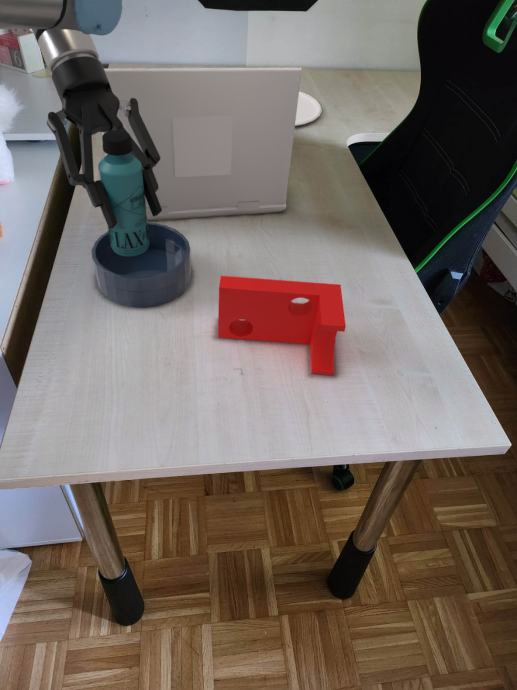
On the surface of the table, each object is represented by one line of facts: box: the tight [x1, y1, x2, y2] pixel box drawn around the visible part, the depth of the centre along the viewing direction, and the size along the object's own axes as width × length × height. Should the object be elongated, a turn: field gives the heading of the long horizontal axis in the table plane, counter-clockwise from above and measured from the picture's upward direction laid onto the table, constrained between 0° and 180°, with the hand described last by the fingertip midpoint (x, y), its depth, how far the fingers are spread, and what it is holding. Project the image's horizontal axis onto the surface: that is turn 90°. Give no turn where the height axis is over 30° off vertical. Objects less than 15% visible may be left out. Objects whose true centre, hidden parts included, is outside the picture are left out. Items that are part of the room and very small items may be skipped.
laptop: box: [101, 67, 303, 221], centre depth 104 cm, size 35×26×28 cm
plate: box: [295, 90, 323, 127], centre depth 147 cm, size 29×29×1 cm
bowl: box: [91, 222, 192, 308], centre depth 89 cm, size 16×16×6 cm
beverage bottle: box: [97, 130, 150, 257], centre depth 79 cm, size 6×7×20 cm
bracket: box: [217, 275, 347, 376], centre depth 78 cm, size 18×10×10 cm
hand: (135, 219), depth 78 cm, fingers closed on beverage bottle, 6 cm apart
